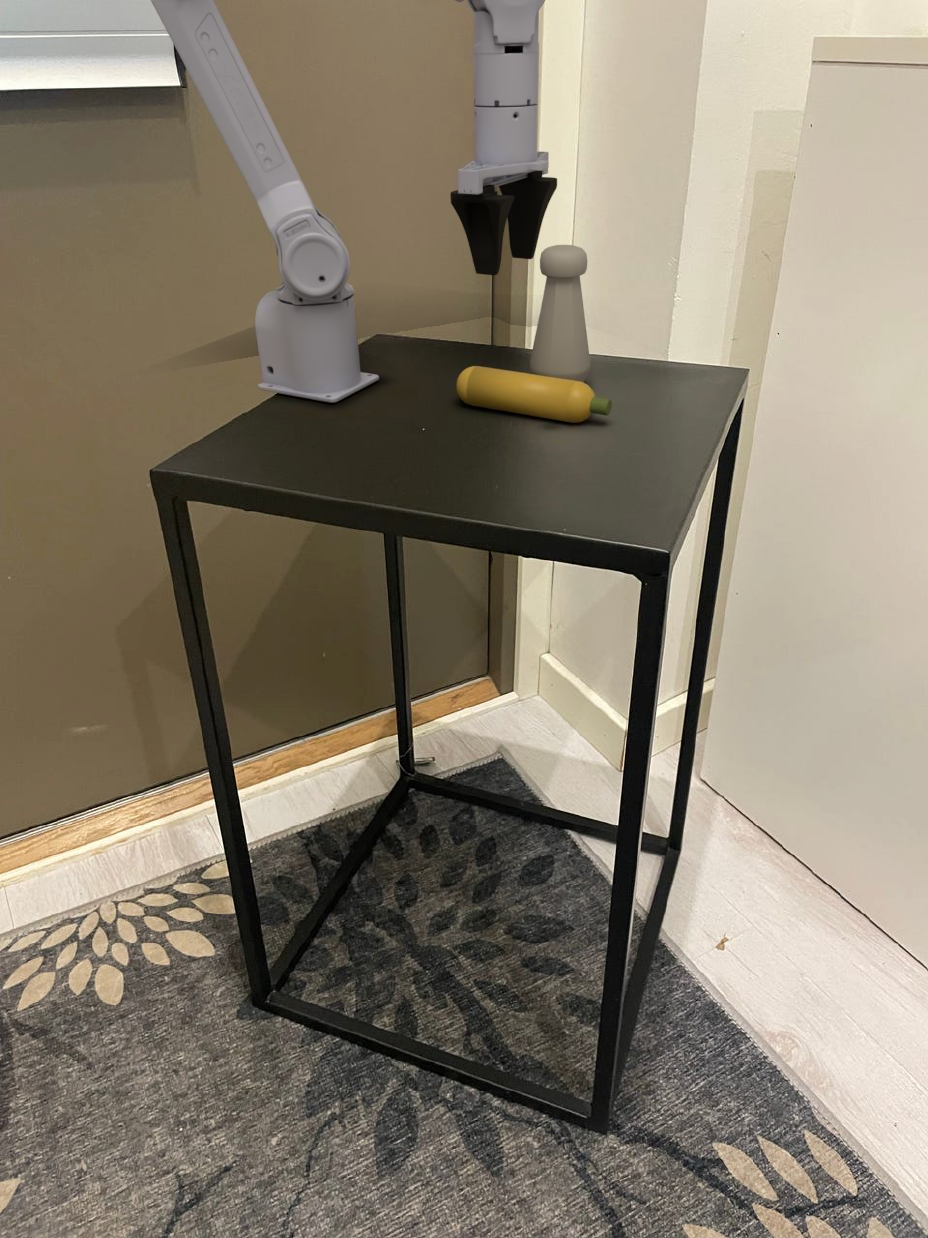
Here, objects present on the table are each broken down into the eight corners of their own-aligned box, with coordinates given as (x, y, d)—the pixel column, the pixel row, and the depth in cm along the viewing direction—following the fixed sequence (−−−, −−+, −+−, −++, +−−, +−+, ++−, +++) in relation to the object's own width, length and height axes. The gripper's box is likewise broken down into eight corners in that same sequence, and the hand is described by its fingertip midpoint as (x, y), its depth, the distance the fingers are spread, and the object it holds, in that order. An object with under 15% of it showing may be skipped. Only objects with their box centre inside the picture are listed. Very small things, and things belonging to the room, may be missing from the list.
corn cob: (449, 407, 86) (448, 369, 84) (468, 395, 88) (467, 358, 87) (600, 433, 80) (602, 393, 78) (615, 420, 82) (618, 381, 80)
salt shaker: (591, 397, 87) (599, 252, 80) (531, 398, 88) (533, 254, 80) (585, 377, 92) (592, 239, 85) (528, 378, 92) (530, 241, 85)
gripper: (509, 111, 75) (508, 285, 82) (579, 99, 85) (573, 254, 93) (434, 110, 78) (440, 278, 85) (511, 98, 88) (510, 248, 96)
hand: (505, 265), depth 89 cm, fingers open, 7 cm apart
